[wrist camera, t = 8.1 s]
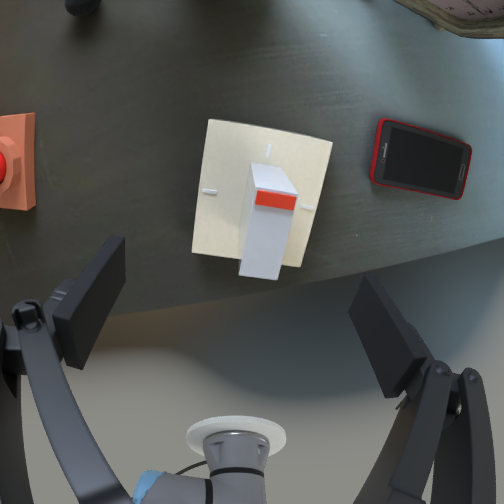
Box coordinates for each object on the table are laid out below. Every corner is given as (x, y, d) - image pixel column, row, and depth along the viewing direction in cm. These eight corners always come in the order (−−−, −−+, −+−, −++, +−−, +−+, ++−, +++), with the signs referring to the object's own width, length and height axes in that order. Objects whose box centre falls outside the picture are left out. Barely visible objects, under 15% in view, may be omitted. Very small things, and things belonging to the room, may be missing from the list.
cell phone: (457, 199, 33) (461, 201, 32) (366, 181, 32) (369, 184, 31) (469, 144, 30) (473, 146, 29) (377, 116, 29) (381, 116, 28)
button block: (36, 204, 31) (19, 216, 28) (-3, 200, 30) (-20, 211, 27) (35, 112, 26) (16, 115, 22) (-5, 116, 25) (-24, 121, 21)
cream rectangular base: (295, 254, 36) (300, 268, 33) (195, 240, 35) (191, 253, 32) (324, 139, 30) (333, 142, 27) (211, 118, 28) (208, 119, 26)
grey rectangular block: (267, 233, 31) (277, 282, 23) (238, 228, 31) (238, 277, 23) (281, 167, 28) (299, 194, 20) (250, 161, 28) (255, 187, 20)
